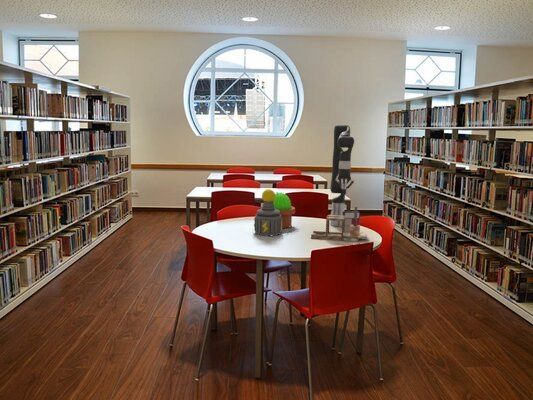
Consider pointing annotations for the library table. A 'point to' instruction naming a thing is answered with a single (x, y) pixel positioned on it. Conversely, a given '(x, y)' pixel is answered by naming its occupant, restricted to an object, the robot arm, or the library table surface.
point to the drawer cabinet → (333, 234)
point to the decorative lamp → (268, 216)
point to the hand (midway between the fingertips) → (343, 194)
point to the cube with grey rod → (355, 228)
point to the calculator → (349, 220)
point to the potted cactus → (284, 209)
